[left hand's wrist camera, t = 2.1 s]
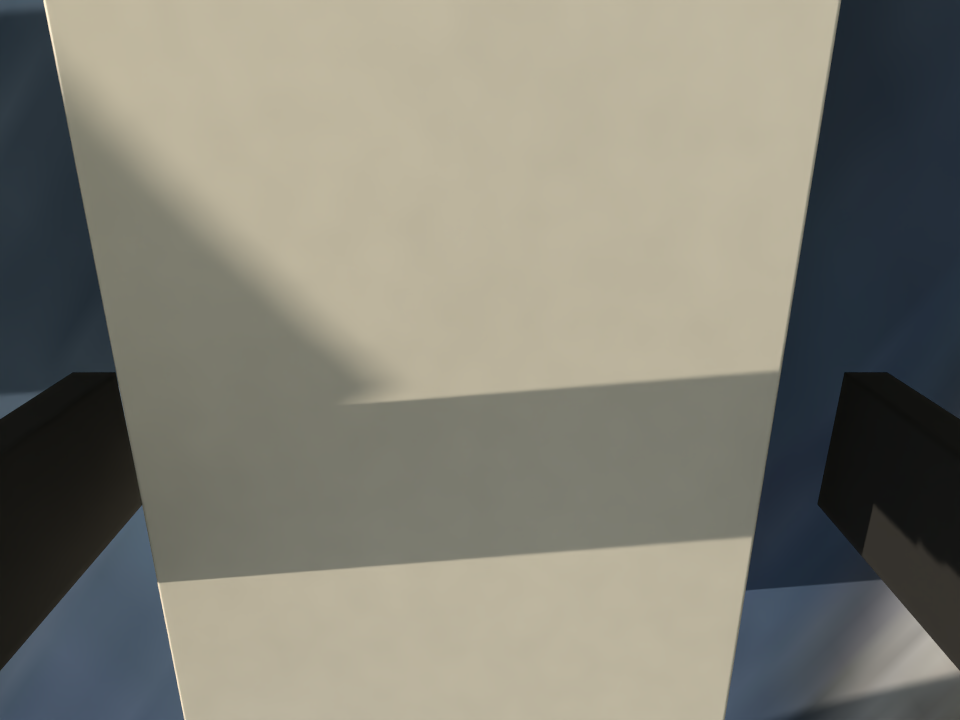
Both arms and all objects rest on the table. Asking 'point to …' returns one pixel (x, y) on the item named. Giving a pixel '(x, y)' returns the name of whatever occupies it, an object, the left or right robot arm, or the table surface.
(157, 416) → the wide beam
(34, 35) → the table surface
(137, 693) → the table surface
